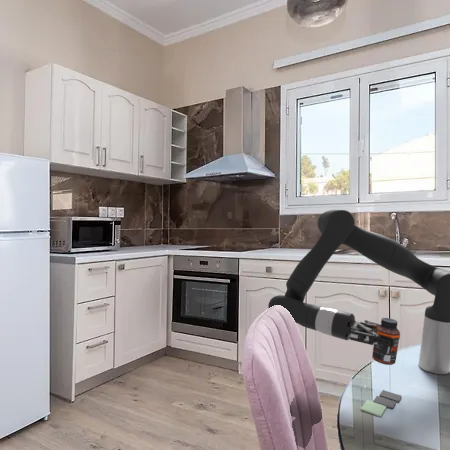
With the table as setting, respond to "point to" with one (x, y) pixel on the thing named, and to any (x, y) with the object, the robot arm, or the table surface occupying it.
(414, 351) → the table surface
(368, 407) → the track
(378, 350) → the supplement bottle
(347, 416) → the table surface
